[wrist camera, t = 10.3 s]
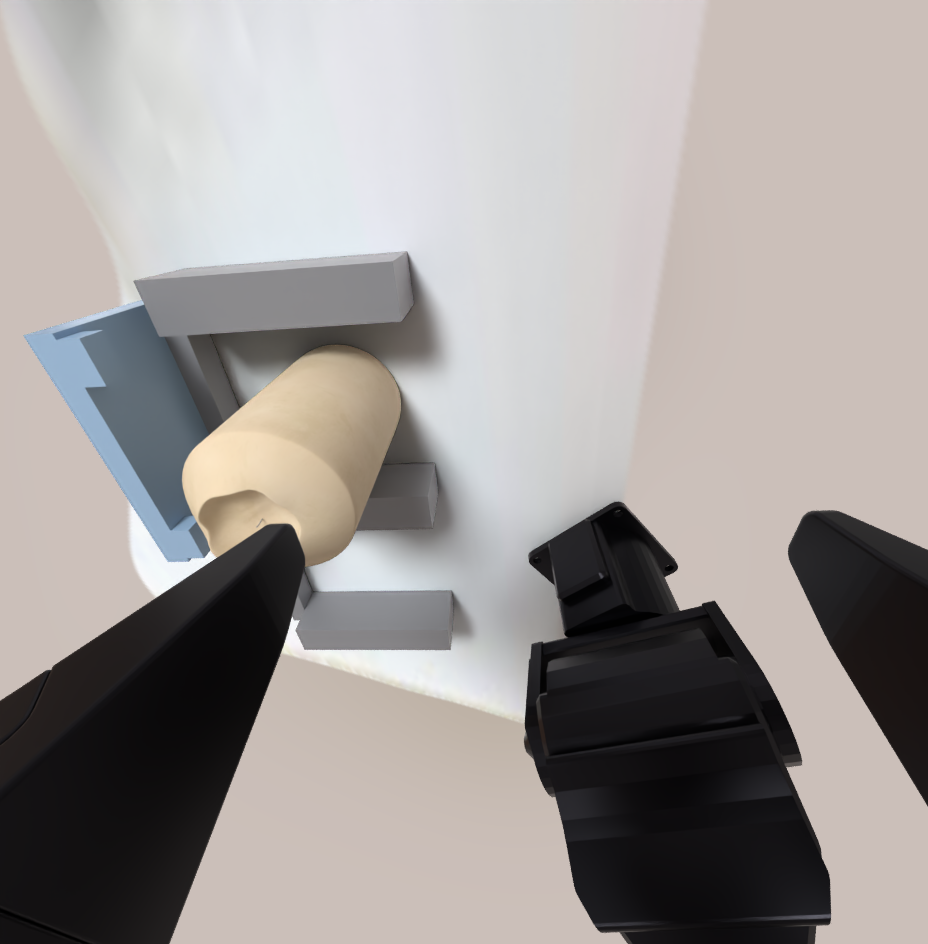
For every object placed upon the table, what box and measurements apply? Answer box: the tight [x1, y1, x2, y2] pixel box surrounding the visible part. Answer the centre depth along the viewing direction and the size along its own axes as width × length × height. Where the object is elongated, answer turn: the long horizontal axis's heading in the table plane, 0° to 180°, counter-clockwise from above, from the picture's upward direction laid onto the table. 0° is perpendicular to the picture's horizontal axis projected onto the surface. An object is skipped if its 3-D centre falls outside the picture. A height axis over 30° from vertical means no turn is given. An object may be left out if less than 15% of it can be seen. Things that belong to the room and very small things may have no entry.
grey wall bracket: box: [24, 252, 454, 650], centre depth 21 cm, size 22×12×6 cm, turn 4°
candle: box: [182, 344, 401, 567], centre depth 16 cm, size 6×6×10 cm
